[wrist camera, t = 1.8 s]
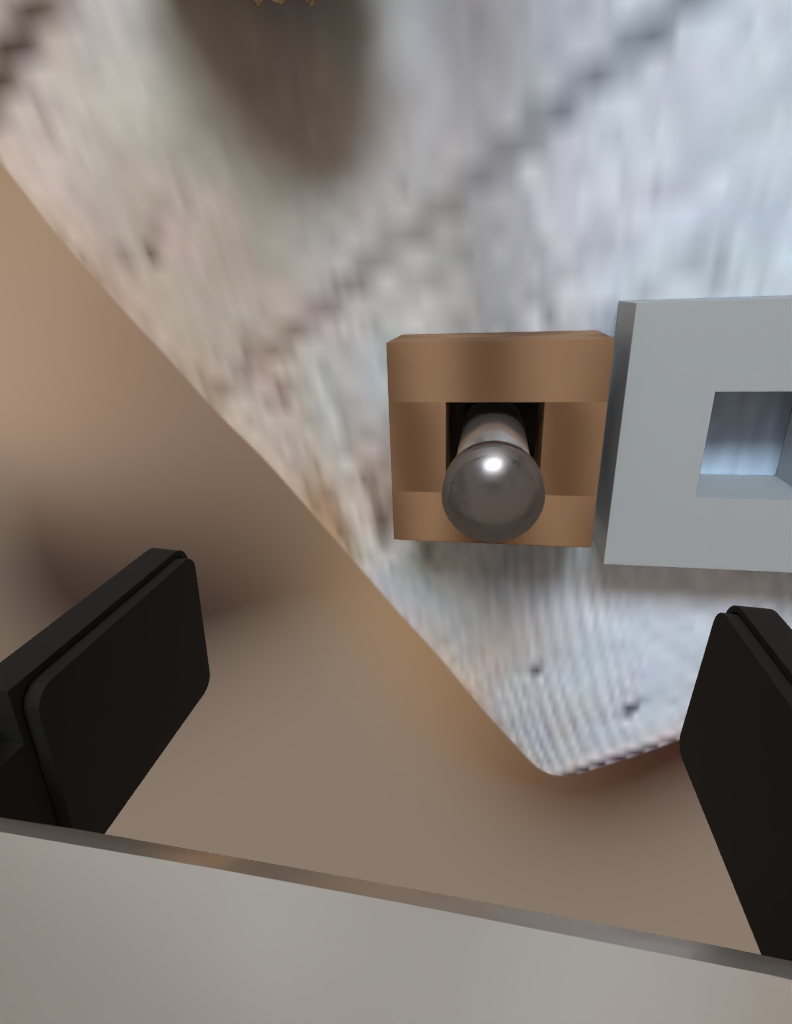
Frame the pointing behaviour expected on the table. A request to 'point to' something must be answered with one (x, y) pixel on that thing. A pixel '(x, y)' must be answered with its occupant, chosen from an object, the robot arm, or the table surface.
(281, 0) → the pine cone
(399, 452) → the mount block
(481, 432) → the lock pin
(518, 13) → the table surface
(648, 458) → the socket block
